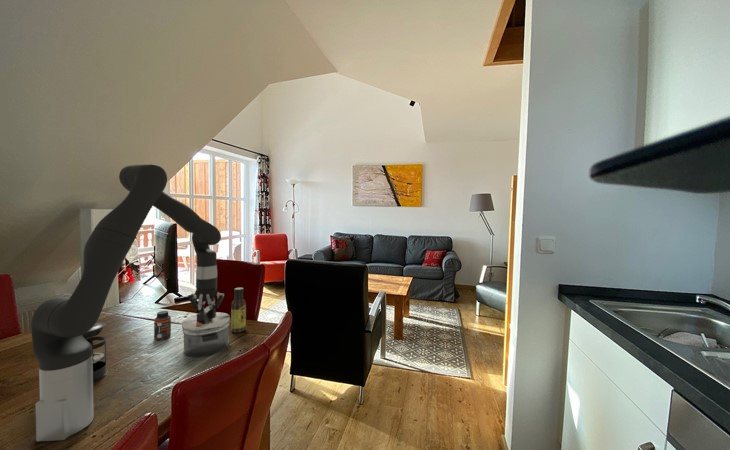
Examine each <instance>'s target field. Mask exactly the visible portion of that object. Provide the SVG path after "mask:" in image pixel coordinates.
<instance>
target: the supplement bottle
mask: <svg viewBox="0 0 730 450" xmlns="http://www.w3.org/2000/svg"><path fill="white" fill-rule="evenodd" d="M153 321H154V322H153V328H154V329H153V338H154V340H156V341H162V340H166V339H168V338H170V337H171V335H172V317H171V315H169V310H162V311H161V310H160V311H158V312H156V317H155V318H154V319H153Z"/></svg>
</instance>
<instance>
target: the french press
mask: <svg viewBox="0 0 730 450" xmlns="http://www.w3.org/2000/svg"><path fill="white" fill-rule="evenodd" d="M106 326H107V323H106V322H102V321H101V322H100V321H99V322H96V323H95V324H94V326H93V327H92V328H91V329H90V330H89V331H88V332H86V333H84V334H83V335H82V336H83V337H84V339H85V340H86V341H88V342H89V343H90V344H91V345H92V362H93V383H95V382H98V381H100V380H102V379H103V378H104V377H106V376H107V375H108V373H109V371H108V369H107V368H108V367H107V366H108V365H107V364H108V363H107V337H106V336H102V335H99V334H100V333H101V332H102V331H103V329H104V328H105V327H106ZM94 341H101V342H99V343H96V344H94ZM103 346H104V352H94V350H96V349H98V348H99V349H100V348H101V347H103ZM104 358H105V361H104Z"/></svg>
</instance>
